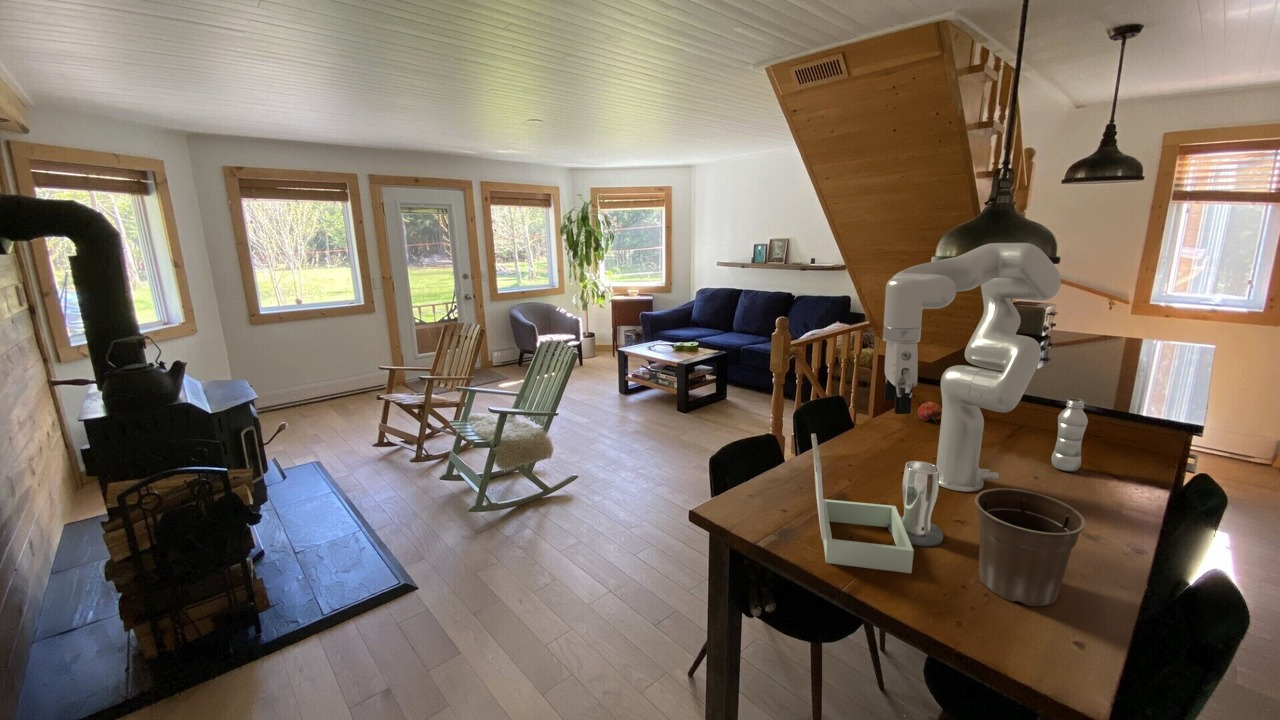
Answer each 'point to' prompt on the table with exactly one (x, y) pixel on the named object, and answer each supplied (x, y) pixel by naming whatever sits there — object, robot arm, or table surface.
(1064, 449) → the plastic bottle
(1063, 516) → the plant pot
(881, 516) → the frame
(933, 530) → the grey round coaster
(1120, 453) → the table surface
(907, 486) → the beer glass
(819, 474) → the lid
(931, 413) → the pomegranate
